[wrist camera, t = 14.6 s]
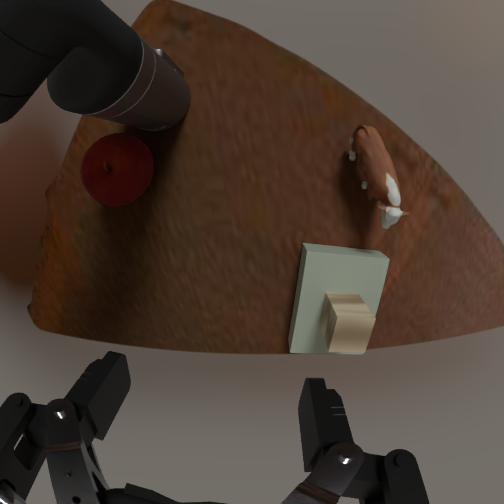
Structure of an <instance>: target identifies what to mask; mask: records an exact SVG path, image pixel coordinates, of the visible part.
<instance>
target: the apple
mask: <svg viewBox="0 0 504 504" xmlns="http://www.w3.org/2000/svg"><path fill="white" fill-rule="evenodd" d="M80 172H81V179H82V182H83V184H84V186H85V188H86V190H87V191H88V193H89V194H90V195H91V196H92V197H93V198H94V199H95V200H96V201H98V202H99V203H101V204H104V205H107V206H112V207H118V206H124V205H127V204H129V203H131V202H133V201H135V200H136V199H138V198H139V197H140V196H141V195H142V194H143V193H144V192H145V191H146V189H147V188H148V186H149V184H150V182H151V180H152V176H153V172H154V160H153V155H152V153H151V151H150V149H149V148H148V146H147V145H146V144H145V143H144V142H143V141H142V140H140V139H139V138H137V137H135V136H133V135H129V134H125V133H115V134H110V135H107V136H105V137H102V138H100V139H99V140H97V141H96V142H95V143H94V144H93V145H92V146H91V147H90V148H89V149H88V150H87V152H86V153H85V155H84V157H83V159H82V163H81V171H80Z"/></svg>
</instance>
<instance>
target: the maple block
mask: <svg viewBox="0 0 504 504" xmlns="http://www.w3.org/2000/svg"><path fill="white" fill-rule="evenodd" d="M375 320H376V318H375V317H374V315H373V314H372V312H371V311H370V309H369V308H368V307H367V305H366V304H365V302H364V301H363V299H362V298H361V296H360V295H359V294H344V293H330V292H326V294H325V299H324V303H323V308H322V313H321V317H320V322H319V325H320V328H321V331H322V334H323V337H324V340H325V343H326V346H327V349H328V352H365V350H366V348H367V345H368V342H369V339H370V336H371V332H372V329H373V326H374V323H375Z"/></svg>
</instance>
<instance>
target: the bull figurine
mask: <svg viewBox="0 0 504 504" xmlns="http://www.w3.org/2000/svg"><path fill="white" fill-rule="evenodd" d="M359 129H360V130H359ZM349 142H350V144H352V150H351V151H349V154H350V156H349V159H350V161H355V159H356V154H357V155H358V156H359V158H360V170H361V173H362V175H363V176H364V178H365V179H366V181H362V185H361V187H362V189H368V190H369V192H370V193H371V195H372V196H373V197H374V198H375V199H376V200H378V201H381V203H382V204H383V206H377V207H378V208H380V209H381V210H382V220H381V226H382V227H383V228H386V229H388V228H389V227H390V225H392V224H395V223H396V222H397V221H398V220H399V218H400V216H406V215H408V214H409V212H405V211H401V210H400V203H401V198H400V193H399V182H398V179H397V176H396V172H395V168H394V166H393V163H392V160H391V158H390V156H389V154H388V152H387V151H386V149H385V146H384V144H383V141H382V139H381V137H380V135H379V133H378V132H377V131H376V129H375V128H374V127H372V126H368V127H367V126H366V125H364V124H361V125H359V126H358V127H357V128H356V130H355V132H354V133H353V135H352V136H351V137H350V138H349ZM355 153H356V154H355Z"/></svg>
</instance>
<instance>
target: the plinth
mask: <svg viewBox="0 0 504 504" xmlns="http://www.w3.org/2000/svg"><path fill="white" fill-rule="evenodd" d="M389 260H390V259H389V258H388V257H386V256H385V255H384V254H382V253H381V252H380V251H375V250H366V249H356V248H347V247H337V246H327V245H317V244H307V243H303V247H302V254H301V261H300V268H299V275H298V281H297V288H296V294H295V301H294V307H293V313H292V319H291V325H290V330H289V336H288V341H289V349H290V353H308V354H363V353H364V352H328V349H327V346H326V343H325V340H324V337H323V334H322V331H321V328H320V325H319V322H320V317H321V313H322V308H323V303H324V299H325V294H326V292H330V293H344V294H359V295H360V296H361V298H362V299H363V301H364V302H365V304H366V305H367V307H368V308H369V309H370V311H371V312H372V314H373V315H374V317H375V315H376V312H377V308H378V304H379V301H380V297H381V293H382V289H383V285H384V281H385V277H386V273H387V269H388V264H389Z"/></svg>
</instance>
